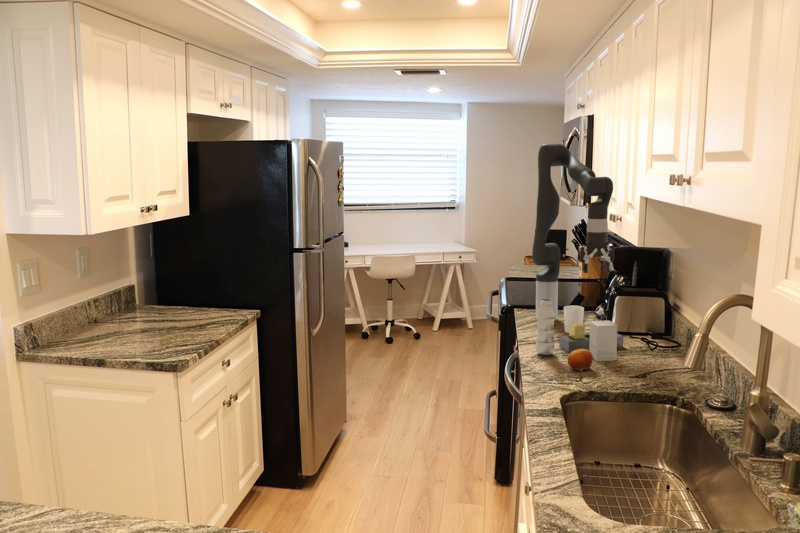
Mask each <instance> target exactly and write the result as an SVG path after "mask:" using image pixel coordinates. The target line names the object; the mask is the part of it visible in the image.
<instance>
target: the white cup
mask: <svg viewBox="0 0 800 533" xmlns="http://www.w3.org/2000/svg"><path fill="white" fill-rule="evenodd" d="M584 310H585V307H583V306H581V305H576V304H575V305H566V306H563V324H564V333H567V334H569V324H573V323H581V324H583V323H584V312H585V311H584ZM583 325H584V324H583Z"/></svg>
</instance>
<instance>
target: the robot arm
mask: <svg viewBox="0 0 800 533" xmlns="http://www.w3.org/2000/svg"><path fill="white" fill-rule="evenodd" d="M552 167H563V168H565V169H567V172H568V176H569V177H570V178H571V180H573V181H574V182H576V183H577V184H578V185H579V186H580V187H581V189H582V191H583V192H584V193H585V194H586V195H587V196H590V197H597V198H596V200H595V201H593V202H590V203H589V205H588V207H587V208H588V209H587V222H586V238H585V239H586V241H585V242H586V245H585V246H582V245H579V246H578V247H577V248H578V250H577V260H576V261H577V262H579V263H581V264H582V265H581V267H582V268H581V270H582V272H583V273H584V274H588V273H589V264H588V263H589V262H590V260H591V259H592V258H597V257H600V258H602V260H603V272H605V273H608V272H609V271H610V263H611V261H614V260H615V258H616V254H615V252H616V251H615V244H611V243H609V244H607V242H608V225H609V224H608V223H609V222H608V210H609V209H608V208H609V205H610V202H611V198H612V194H613V191H614V183H613V180H612V179H611V178H610V177H608V176H596V173H595V172H594V171H593V169H591V168H590V167H588V166H587V165H586V164H583V163H582V162H581V161H580V160H579V159H577V157H576V156H575V155H574V154H573V153H572V151H570V150H569V148H568V147H567V146H566V145H564V144H562V143H544V144H542V145H540V146H539V149H538V154H537V169H538V176H537V178H538V182H537V198H536V199H537V200H536V218H535V220H536V221H535V229H534V238H533V242H532V243H533V244H532V254H531V256H532V257H531V258H532V262H533V263H534V265H536V266H545V268H543V269H542V270H541V271H539V272H537V273H536V275H535V315H536V314H537V311H538V310H539V308H540V307H541V305H540V300H541V299H550V300H551V308H552V309H553V311H554V312H555V320H554V322H555V321H557V320H558V304H559V302H558V301H559V300H558V298H559V297H558V296H559V288H558V287H559V286H558V285H559V276H560V269H561V268H560V267H561V248H560V247H559V245H558V244H557V243H556V242H549V243H548V242H547V237H548V233H549V231H550V229H552V227H553V225H554V223H555V221H556V220H557V218H558V216H559V214H560V202H561V199H560V196H559V193H558V191H557V189H556V186H555V185H554V183H553V180H552V175H551V170H552V169H551V168H552ZM546 242H547V243H546ZM607 250H608V252H607ZM585 252H586V253H585ZM584 253H585V254H584ZM607 253H608V254H607ZM535 320H537V317H536V316H535Z"/></svg>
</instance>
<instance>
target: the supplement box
mask: <svg viewBox="0 0 800 533" xmlns="http://www.w3.org/2000/svg"><path fill="white" fill-rule="evenodd" d="M589 334H590V341H589V351H590V352H591V354H592V355H593V359H594V361H595V362H612V361H614V360H615V361H617V355H618V353H617V352H618V350H617V348H618V347H617V334H618V324H616V323H615V322H613V321H611V320H594V321H593V320H591V321H589Z"/></svg>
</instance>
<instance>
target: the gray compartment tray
mask: <svg viewBox="0 0 800 533" xmlns="http://www.w3.org/2000/svg"><path fill="white" fill-rule="evenodd" d="M589 341H590V333H585V339H583V340H572V339H570V338H569V335H565V336H563V335H562V336H559V348H561V350H564V351H566V352H568V353H571V352H572V351H574V350H577V349H586V350H589ZM617 348H624V335H622V334H619V333H617Z"/></svg>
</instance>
